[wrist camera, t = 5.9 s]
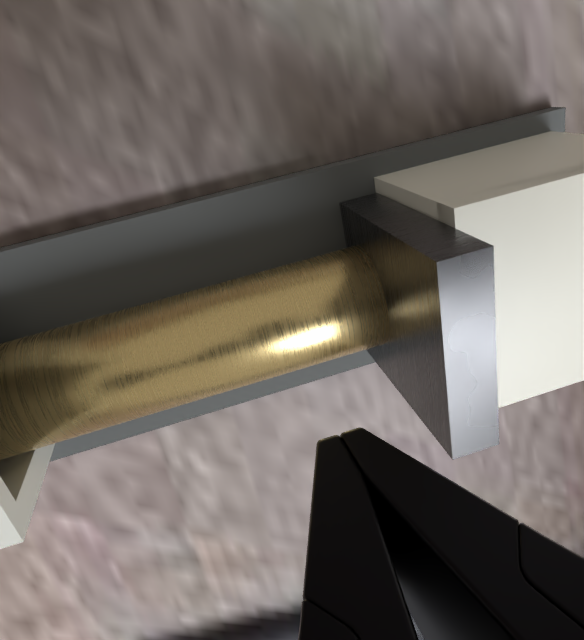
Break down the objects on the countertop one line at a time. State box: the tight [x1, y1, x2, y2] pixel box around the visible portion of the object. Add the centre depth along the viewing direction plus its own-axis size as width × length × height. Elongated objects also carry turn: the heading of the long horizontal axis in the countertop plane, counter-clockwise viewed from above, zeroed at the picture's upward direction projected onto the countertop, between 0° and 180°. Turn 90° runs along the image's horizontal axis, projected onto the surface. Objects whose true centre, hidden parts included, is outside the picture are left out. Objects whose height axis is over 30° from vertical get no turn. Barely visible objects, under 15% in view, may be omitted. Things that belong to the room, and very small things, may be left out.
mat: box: [0, 107, 566, 462], centre depth 16 cm, size 26×7×1 cm, turn 102°
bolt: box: [0, 193, 499, 460], centre depth 13 cm, size 17×5×6 cm, turn 102°
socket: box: [374, 131, 584, 408], centre depth 15 cm, size 6×6×5 cm
